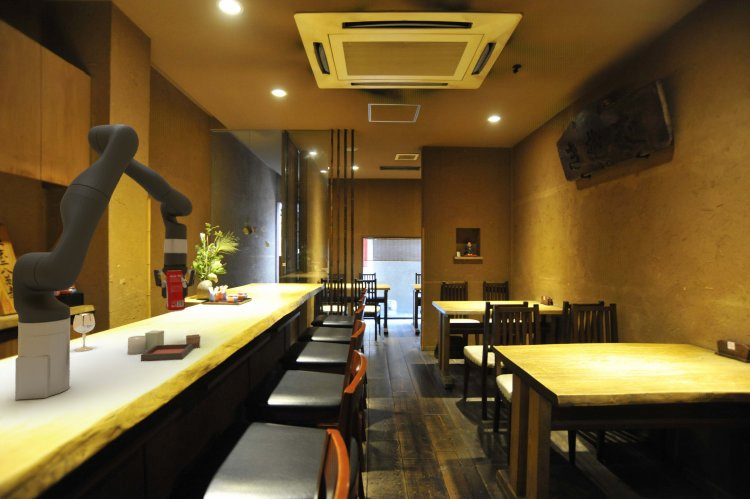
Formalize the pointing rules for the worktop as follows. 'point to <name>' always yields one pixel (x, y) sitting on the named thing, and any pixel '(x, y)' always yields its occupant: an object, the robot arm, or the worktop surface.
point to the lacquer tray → (167, 352)
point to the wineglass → (84, 326)
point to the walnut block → (193, 340)
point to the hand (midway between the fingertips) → (174, 297)
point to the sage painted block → (154, 338)
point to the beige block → (136, 345)
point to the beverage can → (174, 291)
